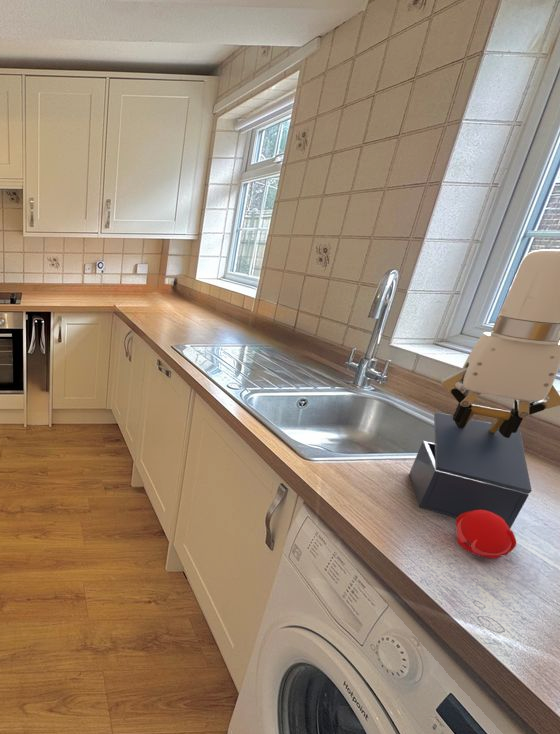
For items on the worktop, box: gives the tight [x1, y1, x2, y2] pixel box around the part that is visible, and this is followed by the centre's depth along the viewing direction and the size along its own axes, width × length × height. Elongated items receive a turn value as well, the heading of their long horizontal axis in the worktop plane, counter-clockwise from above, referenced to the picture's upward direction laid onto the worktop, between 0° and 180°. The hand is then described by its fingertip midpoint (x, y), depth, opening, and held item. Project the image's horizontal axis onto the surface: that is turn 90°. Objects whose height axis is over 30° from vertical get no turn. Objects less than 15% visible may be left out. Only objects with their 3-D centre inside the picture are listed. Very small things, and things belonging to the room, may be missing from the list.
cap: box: [455, 510, 517, 559], centre depth 63 cm, size 8×6×6 cm
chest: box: [409, 440, 530, 530], centre depth 74 cm, size 13×11×8 cm
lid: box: [433, 403, 532, 495], centre depth 70 cm, size 14×11×6 cm
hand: (481, 428), depth 73 cm, fingers closed on lid, 5 cm apart
